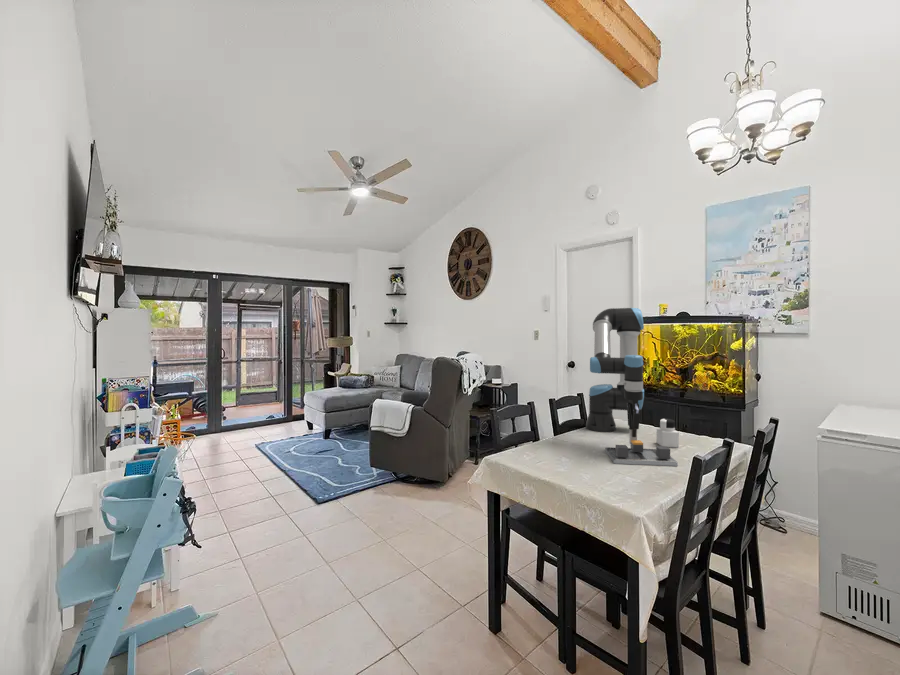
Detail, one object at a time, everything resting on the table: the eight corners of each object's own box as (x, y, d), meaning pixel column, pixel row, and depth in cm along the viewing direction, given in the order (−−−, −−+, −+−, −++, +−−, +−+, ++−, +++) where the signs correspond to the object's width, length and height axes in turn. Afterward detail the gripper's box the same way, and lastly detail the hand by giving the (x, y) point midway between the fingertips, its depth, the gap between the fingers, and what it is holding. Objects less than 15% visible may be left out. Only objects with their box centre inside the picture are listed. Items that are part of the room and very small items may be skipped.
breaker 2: (656, 455, 168) (656, 446, 168) (666, 455, 167) (666, 446, 167) (659, 458, 164) (659, 449, 164) (670, 459, 164) (670, 449, 163)
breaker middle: (630, 449, 177) (630, 440, 177) (640, 449, 176) (640, 440, 176) (633, 452, 173) (633, 442, 173) (643, 452, 172) (643, 443, 172)
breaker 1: (615, 454, 171) (615, 444, 170) (625, 454, 170) (625, 445, 170) (617, 457, 167) (617, 447, 166) (628, 457, 166) (628, 448, 166)
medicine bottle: (672, 442, 191) (672, 417, 191) (679, 447, 184) (679, 421, 184) (656, 442, 192) (656, 417, 191) (662, 447, 185) (662, 421, 184)
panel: (605, 451, 181) (605, 447, 181) (662, 453, 177) (662, 449, 177) (613, 463, 165) (614, 459, 165) (677, 466, 161) (677, 461, 161)
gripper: (620, 387, 186) (620, 439, 187) (628, 392, 173) (628, 447, 174) (638, 388, 185) (637, 439, 185) (647, 393, 172) (646, 448, 173)
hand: (633, 443), depth 180 cm, fingers closed
